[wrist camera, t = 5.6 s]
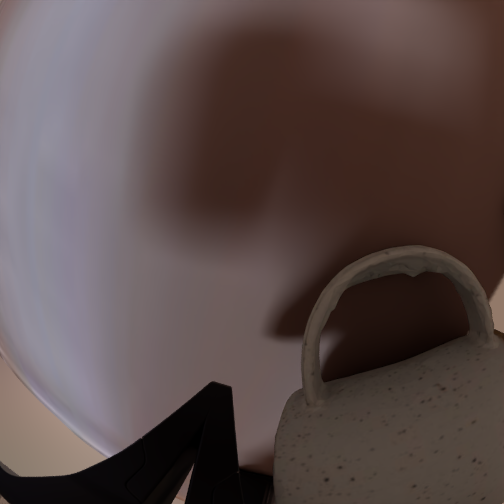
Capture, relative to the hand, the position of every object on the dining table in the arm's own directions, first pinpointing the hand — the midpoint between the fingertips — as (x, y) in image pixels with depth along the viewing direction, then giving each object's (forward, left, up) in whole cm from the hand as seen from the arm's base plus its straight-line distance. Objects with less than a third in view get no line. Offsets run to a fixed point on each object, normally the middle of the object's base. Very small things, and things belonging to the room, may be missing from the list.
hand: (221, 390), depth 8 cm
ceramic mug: (+1, -6, -2) cm, 7 cm away
